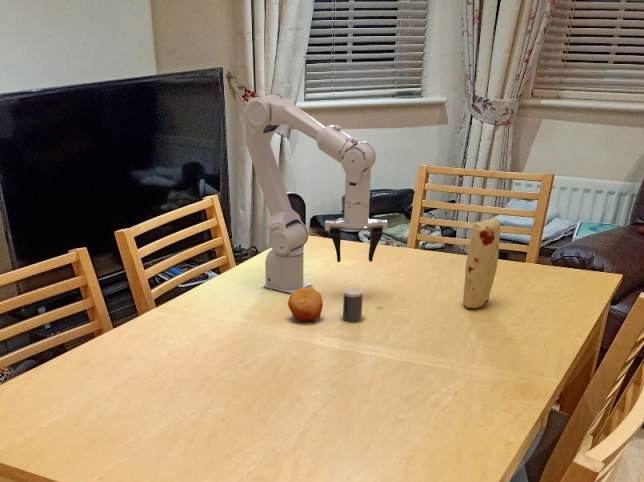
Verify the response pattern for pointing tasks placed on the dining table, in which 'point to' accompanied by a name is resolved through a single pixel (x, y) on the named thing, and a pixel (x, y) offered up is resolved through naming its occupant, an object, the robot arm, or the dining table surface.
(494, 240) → the food model
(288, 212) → the robot arm
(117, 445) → the dining table surface
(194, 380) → the dining table surface
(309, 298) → the fruit
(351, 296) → the salt shaker
